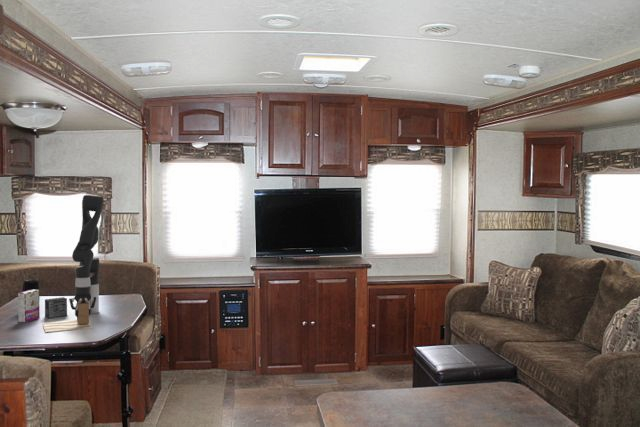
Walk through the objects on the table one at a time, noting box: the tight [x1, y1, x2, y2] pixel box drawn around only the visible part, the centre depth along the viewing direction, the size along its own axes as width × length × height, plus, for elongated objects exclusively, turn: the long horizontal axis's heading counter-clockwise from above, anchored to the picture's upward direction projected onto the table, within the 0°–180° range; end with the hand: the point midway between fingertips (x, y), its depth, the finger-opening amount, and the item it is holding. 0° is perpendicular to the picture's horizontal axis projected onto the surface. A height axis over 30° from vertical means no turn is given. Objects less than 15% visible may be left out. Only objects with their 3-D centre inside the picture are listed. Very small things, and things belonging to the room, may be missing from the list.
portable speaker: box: [22, 278, 40, 292], centre depth 321 cm, size 9×9×20 cm
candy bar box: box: [17, 289, 40, 323], centre depth 300 cm, size 11×5×16 cm, turn 168°
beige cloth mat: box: [42, 319, 92, 334], centre depth 289 cm, size 20×22×1 cm
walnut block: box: [76, 303, 90, 324], centre depth 293 cm, size 8×5×11 cm, turn 31°
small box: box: [44, 296, 68, 319], centre depth 310 cm, size 11×6×10 cm, turn 134°
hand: (82, 316), depth 293 cm, fingers closed on walnut block, 5 cm apart
